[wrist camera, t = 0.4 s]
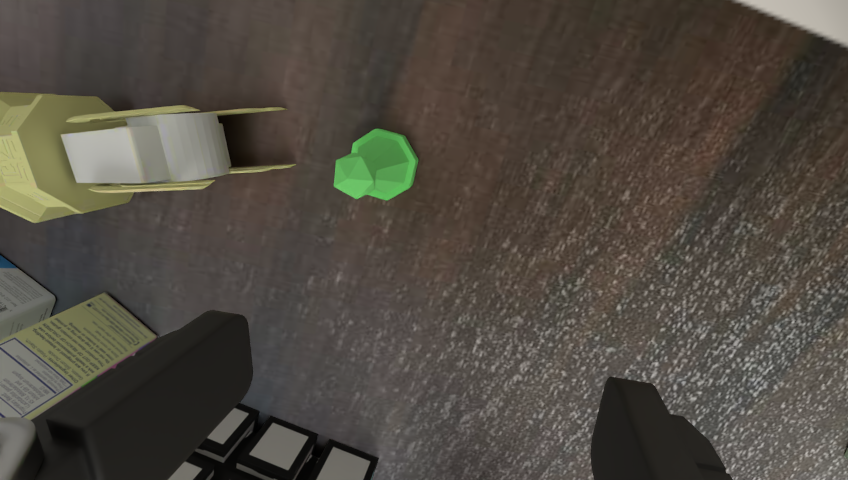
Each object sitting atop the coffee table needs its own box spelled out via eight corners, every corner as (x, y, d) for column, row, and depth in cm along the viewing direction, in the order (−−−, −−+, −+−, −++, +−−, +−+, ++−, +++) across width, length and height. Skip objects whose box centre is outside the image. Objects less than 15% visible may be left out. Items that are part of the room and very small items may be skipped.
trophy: (-63, 113, 31) (282, 73, 24) (-24, 207, 33) (302, 195, 26) (-254, 113, 23) (174, 55, 16) (-187, 236, 25) (216, 230, 18)
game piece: (392, 211, 25) (360, 240, 20) (339, 169, 25) (291, 186, 19) (433, 157, 24) (409, 172, 18) (376, 112, 24) (335, 113, 18)
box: (114, 401, 36) (-58, 527, 25) (65, 360, 36) (-131, 470, 25) (161, 336, 33) (-16, 450, 22) (107, 289, 32) (-101, 382, 21)
